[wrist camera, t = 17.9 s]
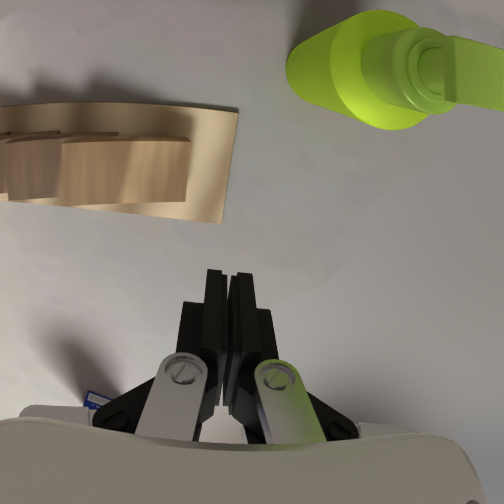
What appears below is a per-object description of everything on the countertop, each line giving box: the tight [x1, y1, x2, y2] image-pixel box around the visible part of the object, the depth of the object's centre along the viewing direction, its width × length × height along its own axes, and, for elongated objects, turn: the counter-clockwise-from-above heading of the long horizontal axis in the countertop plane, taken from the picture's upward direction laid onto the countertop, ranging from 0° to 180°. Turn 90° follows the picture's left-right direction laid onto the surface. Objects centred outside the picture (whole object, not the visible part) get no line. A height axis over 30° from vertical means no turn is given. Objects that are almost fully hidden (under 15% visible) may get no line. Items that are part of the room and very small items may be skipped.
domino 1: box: [0, 130, 60, 194], centre depth 22 cm, size 2×5×10 cm
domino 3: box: [62, 136, 192, 206], centre depth 23 cm, size 2×5×10 cm
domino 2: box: [4, 132, 118, 201], centre depth 23 cm, size 2×5×10 cm
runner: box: [0, 102, 239, 224], centre depth 25 cm, size 29×10×1 cm, turn 80°
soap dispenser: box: [286, 10, 504, 130], centre depth 14 cm, size 6×7×20 cm
